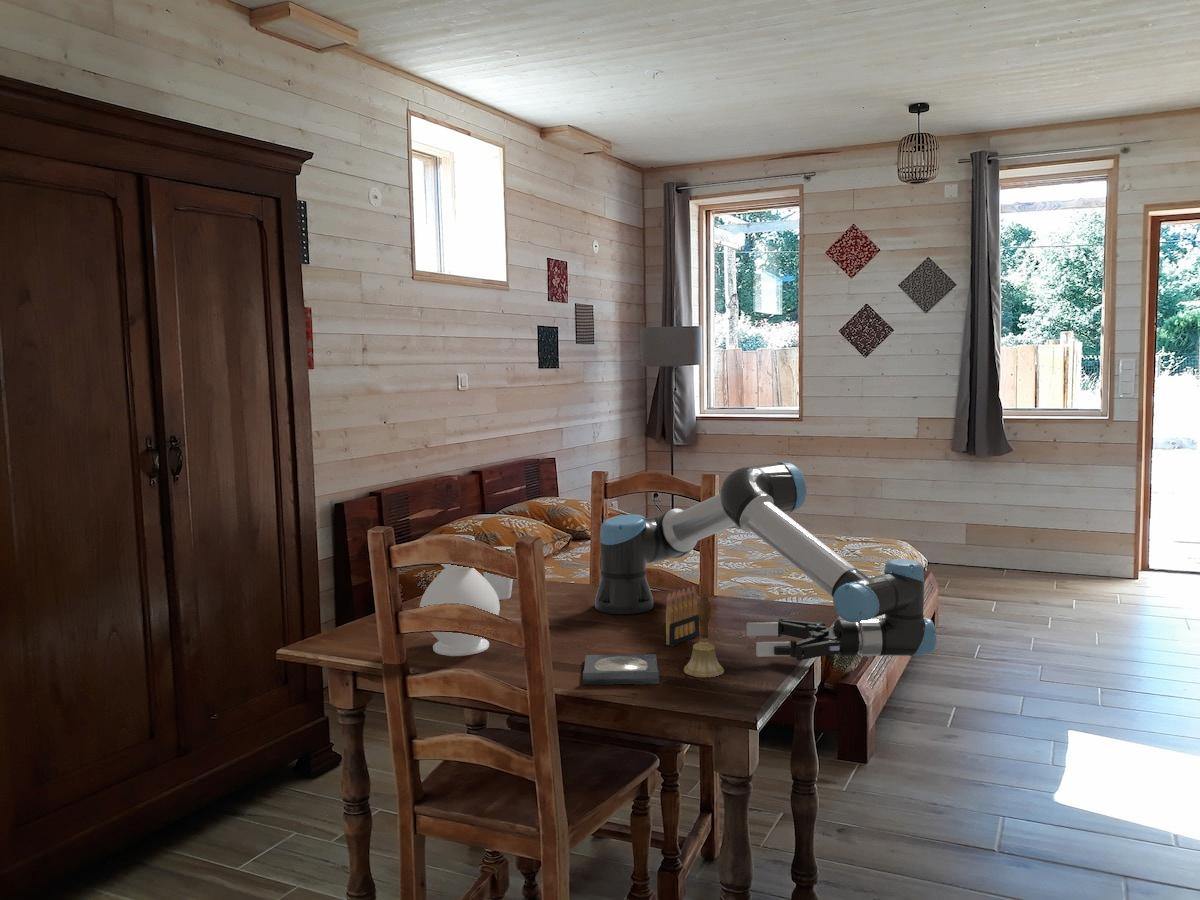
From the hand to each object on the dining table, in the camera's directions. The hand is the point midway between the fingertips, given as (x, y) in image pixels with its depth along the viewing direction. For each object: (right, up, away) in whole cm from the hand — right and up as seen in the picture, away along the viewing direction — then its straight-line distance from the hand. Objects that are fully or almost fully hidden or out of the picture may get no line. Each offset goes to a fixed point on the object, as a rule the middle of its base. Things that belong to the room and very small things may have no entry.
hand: (751, 638), depth 190 cm
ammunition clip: (-12, -5, +22) cm, 25 cm away
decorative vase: (-62, -6, +20) cm, 66 cm away
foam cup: (-58, -2, +64) cm, 86 cm away
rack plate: (-27, -7, +1) cm, 28 cm away
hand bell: (-10, -7, +1) cm, 12 cm away
